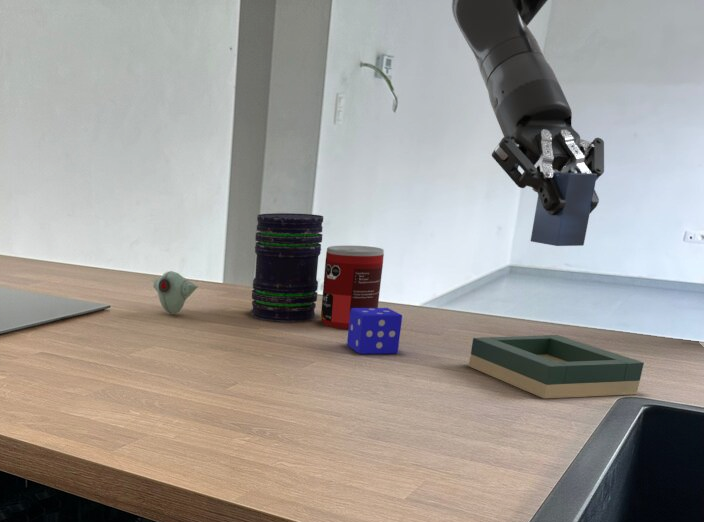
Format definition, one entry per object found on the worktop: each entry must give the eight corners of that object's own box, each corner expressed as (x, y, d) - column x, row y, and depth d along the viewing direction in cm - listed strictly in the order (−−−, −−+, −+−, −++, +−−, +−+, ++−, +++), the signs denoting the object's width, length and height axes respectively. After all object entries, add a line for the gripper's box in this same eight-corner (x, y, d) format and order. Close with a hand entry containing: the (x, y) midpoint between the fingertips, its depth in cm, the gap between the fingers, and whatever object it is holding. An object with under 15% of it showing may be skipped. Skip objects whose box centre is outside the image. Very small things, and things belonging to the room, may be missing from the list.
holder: (551, 363, 104) (556, 334, 103) (637, 394, 91) (644, 362, 90) (468, 366, 103) (472, 337, 101) (543, 398, 90) (549, 366, 88)
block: (556, 241, 105) (568, 172, 102) (583, 245, 100) (597, 173, 97) (530, 241, 104) (541, 172, 102) (556, 246, 100) (569, 173, 97)
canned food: (326, 317, 131) (332, 244, 127) (379, 322, 128) (388, 247, 124) (314, 326, 125) (321, 249, 121) (371, 331, 121) (379, 252, 118)
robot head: (199, 316, 131) (201, 272, 129) (182, 320, 129) (184, 275, 126) (159, 310, 137) (160, 267, 134) (142, 313, 134) (143, 269, 132)
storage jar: (284, 307, 139) (291, 212, 134) (329, 317, 131) (338, 216, 126) (237, 313, 134) (242, 214, 129) (280, 324, 126) (288, 219, 121)
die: (398, 354, 109) (402, 314, 107) (359, 354, 108) (363, 315, 107) (383, 345, 113) (388, 307, 112) (346, 345, 113) (350, 307, 111)
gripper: (490, 75, 102) (537, 188, 95) (597, 77, 104) (651, 187, 97) (459, 124, 108) (501, 232, 101) (561, 125, 111) (608, 231, 103)
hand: (574, 209), depth 99 cm, fingers closed on block, 3 cm apart
